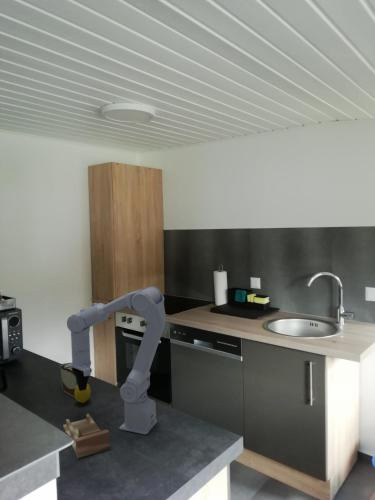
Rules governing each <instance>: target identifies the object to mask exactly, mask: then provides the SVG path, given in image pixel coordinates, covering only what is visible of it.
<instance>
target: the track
mask: <svg viewBox="0 0 375 500" xmlns="http://www.w3.org/2000/svg"><path fill="white" fill-rule="evenodd" d="M85 415H86V416H85V417H86V418H84V419H81V420H76V421H72V422H71V421H70V419H69V418H67V419H65V424H63V425H62V427H63V430H64V432H65V434H66V433H67V434H68V435H69V436H71V437H72V438H73V439H74V443H73V444H72V445H71V447H72V449H73V451H74V454H75V456H76V459H78V460H79V459H82V458H85V457H88V456H92V455H94V454H97V453H101V452H104V451H106V450H107V451H108V450H110V448H111V447H110V431H109V430H108V428H107V429H103V430H100V432H97V433H93V434H90V435H86V436H83V437H80V438H79V433H78V427H81V426H85V425H88V424H92V423H96V422H95V420H94V419H93V417H92V416H91V414H90V413H87V414H85ZM67 434H66V435H67Z"/></svg>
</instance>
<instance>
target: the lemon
mask: <svg viewBox="0 0 375 500" xmlns="http://www.w3.org/2000/svg"><path fill="white" fill-rule="evenodd" d="M91 391H92V390H91V387H90V384H89V383H87V388H86V390H82V391H80V390H79V388H78V385H76V387H75V392H74V394H75V400H76V401H77V402H79V403H81V404H84V403H86V402H87V401H88V400H89V399H90V397H91V393H92V392H91Z"/></svg>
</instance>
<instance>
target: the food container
mask: <svg viewBox="0 0 375 500" xmlns="http://www.w3.org/2000/svg"><path fill="white" fill-rule="evenodd" d="M70 363H71V362H65V363H61V364H60V365H59V370H60V377H61V387H62V388H61V389H62V391H63V392H64V393H66V394H67V395H69V396H71V397H73V398H75V394H74V392H75V387H76V385H77V381H76V377H75V375H74V373H73V371H72V368H74V367H71V368H70V367H69V365H68V364H70ZM75 399H76V398H75Z"/></svg>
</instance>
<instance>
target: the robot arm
mask: <svg viewBox="0 0 375 500" xmlns="http://www.w3.org/2000/svg"><path fill="white" fill-rule="evenodd" d="M124 308H128V309H129V310H134V311H135V312H137V314H138V315H139V316H141V318H143V319H144V320H145V323H146V328H145V331H144V333H143V336H142V339H141V343H140V345H139V348H138V351H137V354H136V357H135V360H134V364H133V367H132V369H131V370H130V372H129V373H128V376H127V377H126V379H125V382H124V383H123V384H122V385H121V387H120V388H119V389H120V390H119V394H120V398H121V399H122V400H123V403H124V405H123V406H124V409H123V410H124V422H123V423H122V424H121V425H120V426H119V429H118V430H120V431H127V432H131V433H137V434H141V435H148V433H150V431H151V430H152V429H153V427H154V426H155V425H156V424H157V423H158V419H157V404H156V401H155V400H154V399H152V398H149V397H148V392H147V390H148V389H149V388H150V386H151V382H150V381H151V380H150V379H151V378H150V376H151V372H150V371H151V370H150V369H151V367H152V364H153V360H154V357H155V355H156V352H157V349H158V346H159V343H160V340H161V336H162V334H163V332H164V328H165V326H166V323H167V315H166V311H165V310H166V309H165V297H164V295H163V294H162V292H161V290H160V289H159V288H158V287H155V286H153V285H152V286H148V287H146V288H145V289H144V288H142V289H137V290H135V291H132V292H129V293H127V294H124V295H122V296H120V297H118V298H116V299H114V300H112V301H110V302H108V303H106V304H105V303H102V302H93V303H91V306H90V307H87V308H82V309H81V310H80V309H79V312H76V313H74V314H71V315H70V316H69V317H68V318H67V320H66V326H67V327H66V328H67V329H68V330H69V331H70V339H71V340H70V342H71V362H69V363H70V364H68V365H69V367H70V368H71V367H74V368H72V371H73V373H74V375H75V377H76V381H77V385H78V388H79V390H80V391H82V390H86V388H87V383H88V382H89V378H90V376H91V375H92V371H93V369H92V368H91V365H92V361H91V344H90V343H91V342H90V337H91V336H90V332H91V327H93V326H95V325H97V324H99V323H102V322H104V321H106V320H108V318H109V315H110V314H112V313H114V312H116V311H119V310H122V309H124ZM88 384H89V383H88Z"/></svg>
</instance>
